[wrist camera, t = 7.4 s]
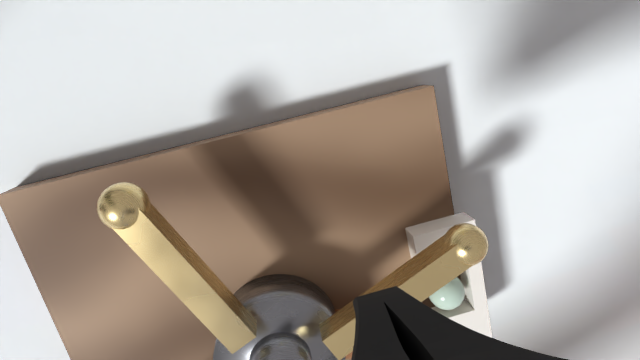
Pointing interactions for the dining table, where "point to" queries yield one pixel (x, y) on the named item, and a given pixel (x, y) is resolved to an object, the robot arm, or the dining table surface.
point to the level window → (457, 296)
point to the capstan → (272, 286)
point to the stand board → (237, 220)
